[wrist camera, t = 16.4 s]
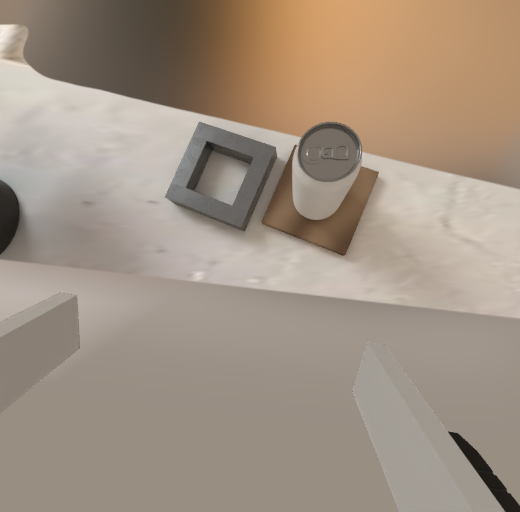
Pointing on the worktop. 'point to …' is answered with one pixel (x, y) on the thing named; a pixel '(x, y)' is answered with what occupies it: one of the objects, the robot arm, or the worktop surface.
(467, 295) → the worktop surface
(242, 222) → the steel collar
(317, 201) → the can
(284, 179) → the walnut pad
